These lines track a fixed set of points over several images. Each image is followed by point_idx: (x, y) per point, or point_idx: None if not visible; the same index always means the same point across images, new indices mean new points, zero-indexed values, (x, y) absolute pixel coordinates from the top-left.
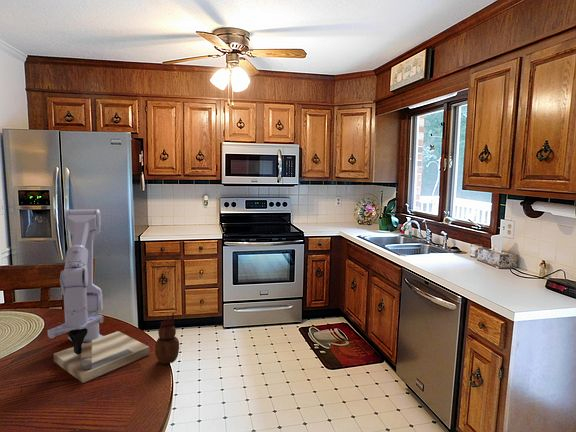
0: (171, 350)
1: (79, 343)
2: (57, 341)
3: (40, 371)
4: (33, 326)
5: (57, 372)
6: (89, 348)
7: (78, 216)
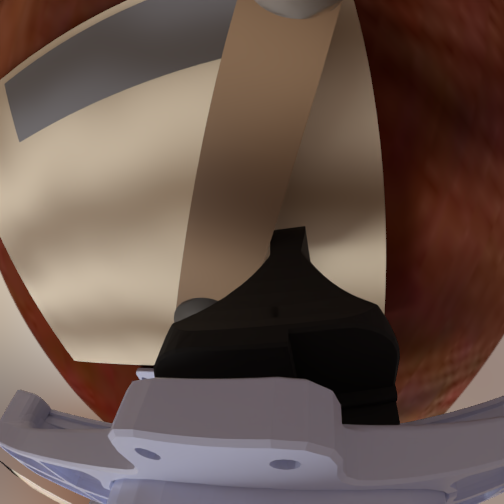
0: None
1: (289, 267)
2: None
3: (450, 266)
4: None
5: (408, 199)
6: (212, 184)
7: None
